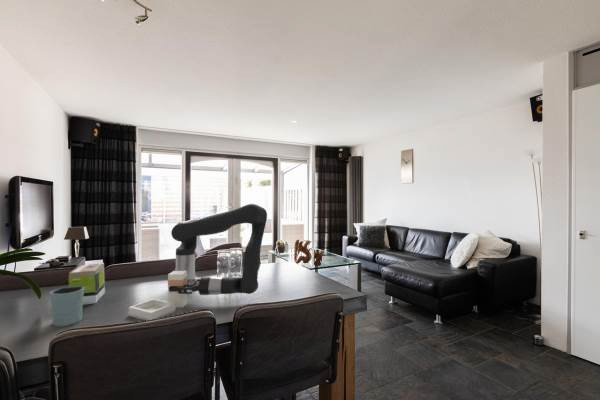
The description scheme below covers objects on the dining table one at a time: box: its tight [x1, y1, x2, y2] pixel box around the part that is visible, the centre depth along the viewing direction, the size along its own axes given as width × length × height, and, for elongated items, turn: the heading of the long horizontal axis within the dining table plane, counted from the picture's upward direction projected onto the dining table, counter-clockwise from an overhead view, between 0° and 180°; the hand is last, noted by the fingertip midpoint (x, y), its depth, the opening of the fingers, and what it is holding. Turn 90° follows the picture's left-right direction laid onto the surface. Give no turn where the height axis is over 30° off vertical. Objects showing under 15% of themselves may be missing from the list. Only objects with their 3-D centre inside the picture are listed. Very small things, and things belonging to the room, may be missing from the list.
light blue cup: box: [49, 286, 84, 327], centre depth 110 cm, size 10×10×12 cm
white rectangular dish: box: [128, 298, 176, 321], centre depth 117 cm, size 13×11×4 cm
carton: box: [167, 270, 188, 309], centre depth 127 cm, size 6×6×14 cm
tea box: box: [68, 262, 106, 306], centre depth 134 cm, size 15×10×15 cm
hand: (172, 286), depth 127 cm, fingers closed on carton, 6 cm apart
